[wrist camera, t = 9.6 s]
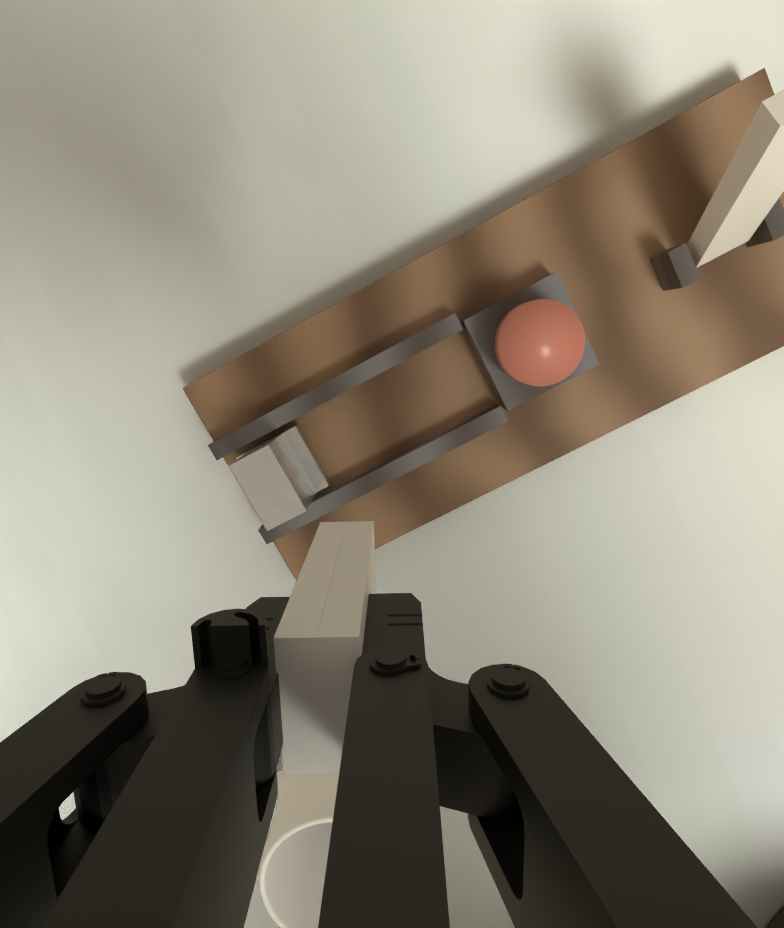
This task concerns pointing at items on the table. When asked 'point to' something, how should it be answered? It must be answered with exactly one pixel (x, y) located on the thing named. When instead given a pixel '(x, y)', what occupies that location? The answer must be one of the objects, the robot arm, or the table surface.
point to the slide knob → (280, 477)
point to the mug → (298, 849)
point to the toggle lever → (744, 186)
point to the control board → (495, 266)
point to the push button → (540, 342)
